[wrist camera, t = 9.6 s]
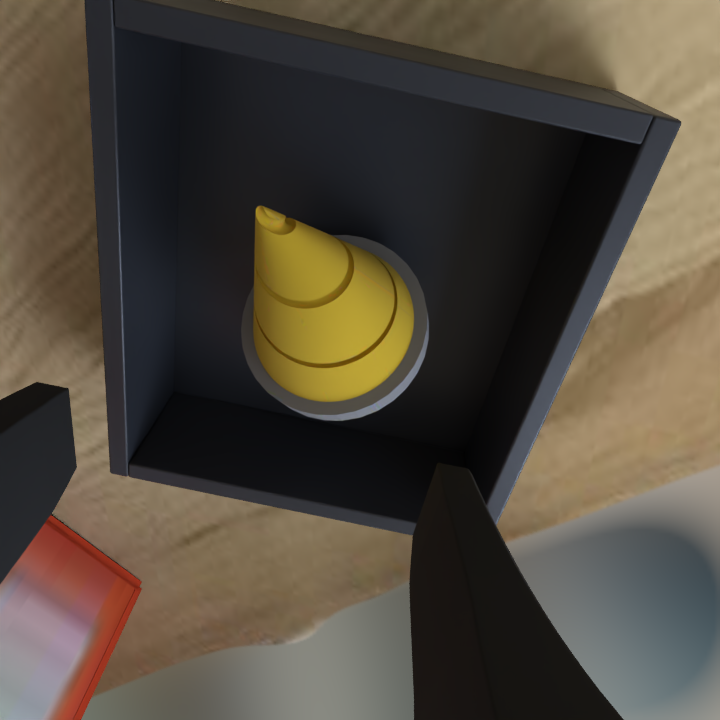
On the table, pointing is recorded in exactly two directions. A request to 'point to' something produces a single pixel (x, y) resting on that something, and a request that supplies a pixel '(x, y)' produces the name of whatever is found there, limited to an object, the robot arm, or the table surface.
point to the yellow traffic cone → (331, 320)
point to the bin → (345, 217)
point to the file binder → (59, 624)
